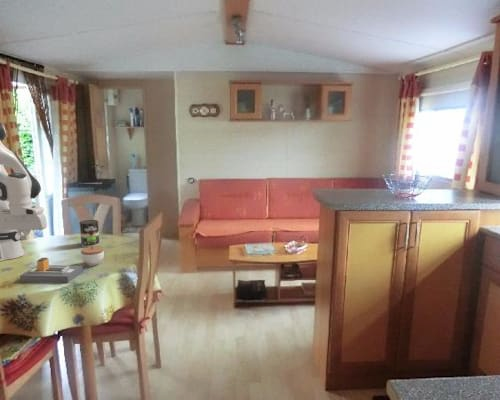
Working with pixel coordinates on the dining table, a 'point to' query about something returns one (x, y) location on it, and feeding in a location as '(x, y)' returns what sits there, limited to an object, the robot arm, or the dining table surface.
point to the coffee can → (89, 233)
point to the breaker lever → (43, 264)
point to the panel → (52, 274)
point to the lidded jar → (92, 255)
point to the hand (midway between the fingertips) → (24, 238)
